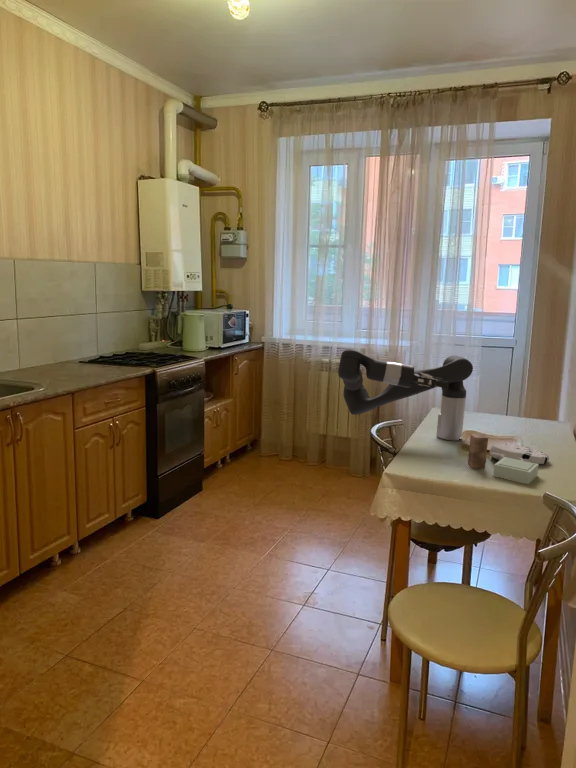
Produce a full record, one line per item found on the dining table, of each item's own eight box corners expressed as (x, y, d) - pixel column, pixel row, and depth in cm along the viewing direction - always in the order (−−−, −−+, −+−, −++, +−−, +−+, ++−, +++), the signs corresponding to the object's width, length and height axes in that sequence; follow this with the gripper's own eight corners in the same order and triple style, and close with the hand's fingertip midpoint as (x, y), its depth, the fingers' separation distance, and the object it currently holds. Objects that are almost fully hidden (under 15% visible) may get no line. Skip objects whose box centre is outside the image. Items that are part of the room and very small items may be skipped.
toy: (478, 449, 216) (492, 463, 196) (481, 437, 215) (495, 450, 196) (536, 460, 214) (556, 475, 195) (539, 448, 214) (559, 462, 194)
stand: (493, 476, 186) (494, 463, 185) (503, 468, 195) (504, 456, 194) (528, 484, 180) (529, 471, 179) (537, 475, 188) (538, 463, 188)
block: (471, 468, 193) (474, 437, 191) (467, 464, 197) (470, 433, 195) (484, 469, 193) (488, 438, 191) (480, 465, 197) (484, 434, 195)
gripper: (394, 382, 199) (440, 391, 197) (397, 387, 185) (447, 397, 183) (398, 361, 198) (445, 370, 196) (402, 365, 184) (452, 374, 182)
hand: (446, 383), depth 190 cm, fingers open, 8 cm apart
